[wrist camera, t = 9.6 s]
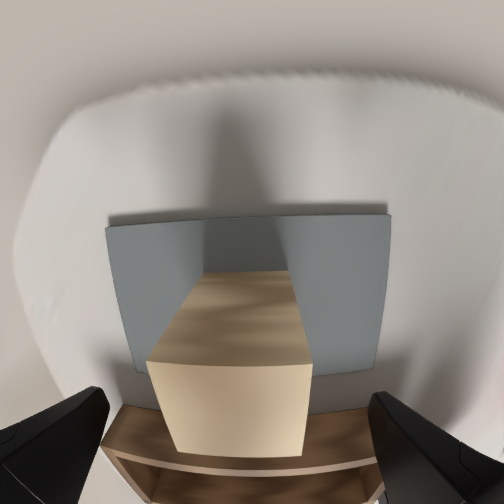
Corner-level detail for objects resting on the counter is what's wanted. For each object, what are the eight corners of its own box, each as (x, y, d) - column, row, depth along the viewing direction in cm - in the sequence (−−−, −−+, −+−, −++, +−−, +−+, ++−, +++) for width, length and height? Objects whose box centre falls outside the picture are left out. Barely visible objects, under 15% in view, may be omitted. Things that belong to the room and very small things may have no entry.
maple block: (288, 270, 14) (312, 363, 6) (287, 343, 15) (301, 455, 8) (203, 272, 14) (145, 361, 7) (211, 344, 16) (177, 451, 8)
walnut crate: (393, 401, 17) (414, 445, 12) (364, 468, 20) (374, 503, 15) (122, 404, 18) (99, 445, 13) (157, 469, 21) (145, 502, 16)
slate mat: (387, 214, 14) (391, 215, 13) (370, 364, 16) (372, 368, 16) (109, 226, 15) (104, 227, 14) (139, 367, 17) (136, 371, 16)
